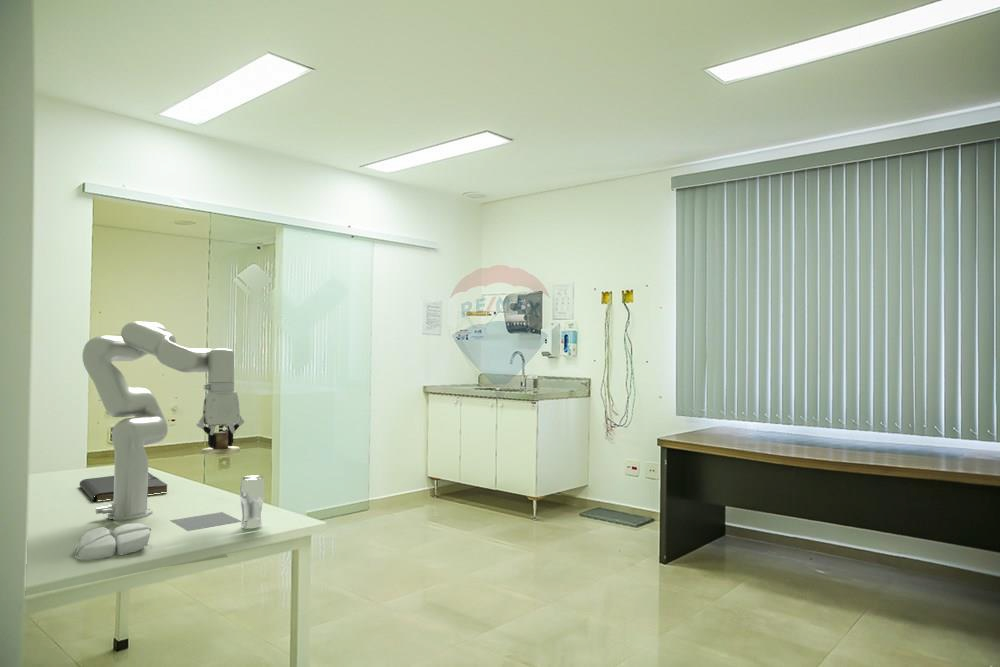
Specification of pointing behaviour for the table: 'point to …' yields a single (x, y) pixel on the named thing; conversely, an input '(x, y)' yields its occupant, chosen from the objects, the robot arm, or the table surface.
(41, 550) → the table surface
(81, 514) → the table surface
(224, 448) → the lid
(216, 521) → the mat
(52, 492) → the table surface
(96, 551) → the lung model
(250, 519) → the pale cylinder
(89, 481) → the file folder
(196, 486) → the table surface
